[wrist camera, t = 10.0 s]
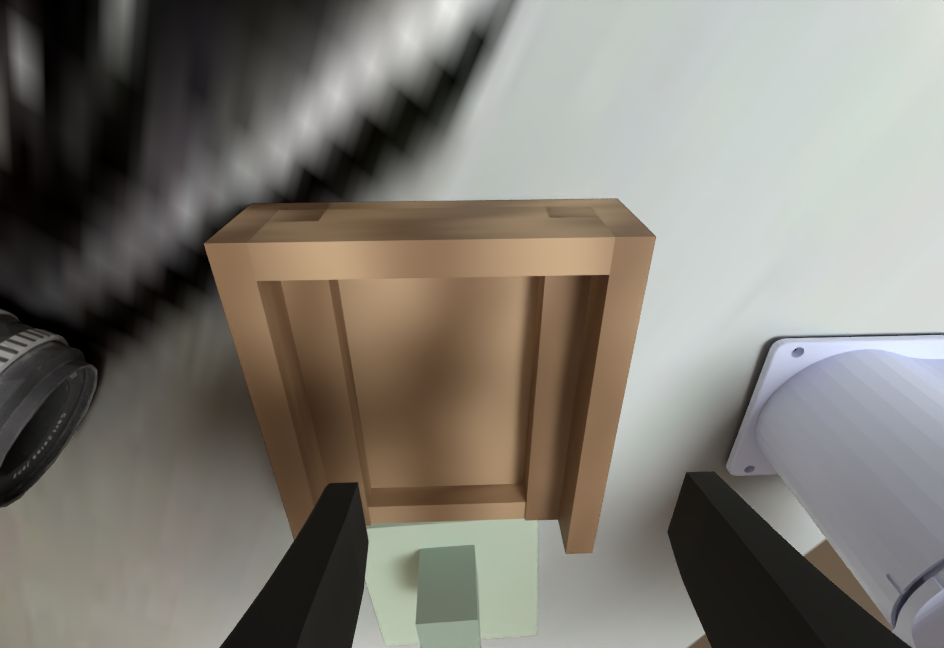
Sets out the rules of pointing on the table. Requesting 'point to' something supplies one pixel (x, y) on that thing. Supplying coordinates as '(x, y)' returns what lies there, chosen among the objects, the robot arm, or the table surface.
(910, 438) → the robot arm
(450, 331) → the box
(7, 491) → the camera
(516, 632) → the lid
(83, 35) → the table surface
